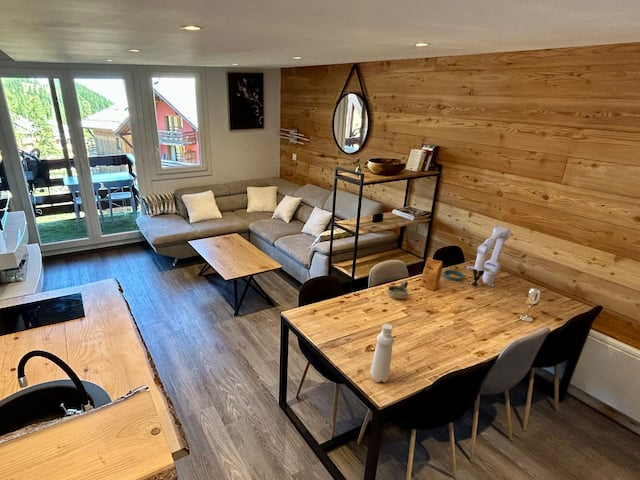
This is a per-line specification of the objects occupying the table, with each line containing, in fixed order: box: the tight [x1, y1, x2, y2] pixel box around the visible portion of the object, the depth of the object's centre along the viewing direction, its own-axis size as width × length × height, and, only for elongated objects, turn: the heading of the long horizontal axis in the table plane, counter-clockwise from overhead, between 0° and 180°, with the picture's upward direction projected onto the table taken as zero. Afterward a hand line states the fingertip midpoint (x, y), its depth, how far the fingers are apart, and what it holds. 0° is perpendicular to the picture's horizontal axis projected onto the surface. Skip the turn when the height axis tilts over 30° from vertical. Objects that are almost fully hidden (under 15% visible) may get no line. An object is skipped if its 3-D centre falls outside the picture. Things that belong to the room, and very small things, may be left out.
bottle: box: [369, 323, 395, 383], centre depth 186 cm, size 9×9×30 cm
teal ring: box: [443, 269, 465, 282], centre depth 295 cm, size 14×14×4 cm
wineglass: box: [518, 288, 541, 323], centre depth 242 cm, size 8×8×20 cm
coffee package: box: [420, 256, 444, 291], centre depth 279 cm, size 10×12×22 cm
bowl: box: [387, 280, 409, 300], centre depth 266 cm, size 14×18×10 cm
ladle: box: [471, 275, 479, 287], centre depth 273 cm, size 4×4×7 cm
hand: (476, 279), depth 272 cm, fingers closed on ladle
